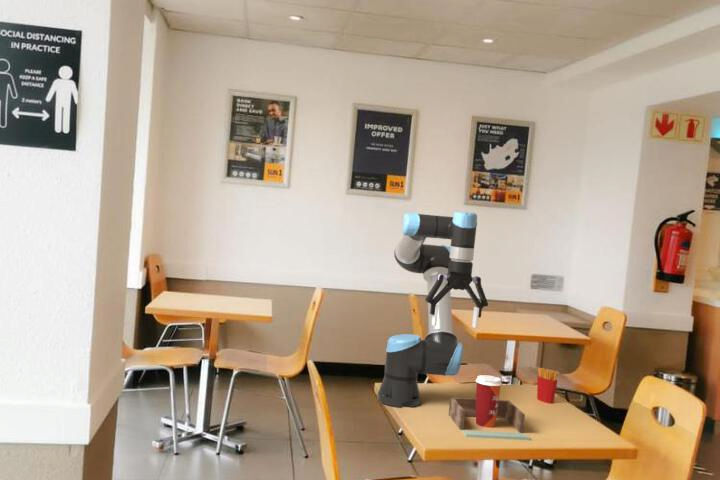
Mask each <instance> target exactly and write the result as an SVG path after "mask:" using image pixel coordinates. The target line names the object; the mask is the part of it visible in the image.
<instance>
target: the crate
mask: <svg viewBox="0 0 720 480" xmlns="http://www.w3.org/2000/svg"><path fill="white" fill-rule="evenodd" d="M448 410H449V411H448V416H449V417H450V418H451V420H452V421H453V422H454V425H456V426H457V427H458V429H459V430H460V431H461V430H464V427H465V426H464V425H465V424H464V423H465V418H466V417H467V418H476V398H471V397H470V398H469V397H453V396H450V399H449V409H448ZM496 419H497V420H498V419H500V420H501V419H502V420H506V421H507V422H508V423H509V424H510V425H511V426H512V427H513V428H514V429H515V430H516V431H517V433H523V434H524V427H525V413H524V412H523V411H522V410H520V409H519V408H518V407H517V406H516V405H515V404H513V402H511V401H510V400H506V399H505V400H504V399H503V400H502V399H499V401H498V408H497V415H496Z"/></svg>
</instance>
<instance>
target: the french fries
mask: <svg viewBox="0 0 720 480" xmlns="http://www.w3.org/2000/svg"><path fill="white" fill-rule="evenodd" d="M537 373H538V375H537V380H536V381H537V386H536V387H537V389H536V391H537V392H536V399H537V400H538V401H540V402H543V403H547V404H554V401H555V395H556V390H557V385H558V379H557V375H558V374H557V373H556V371H553V370H550V369H549V368H546V369H545V368H544V367H540V368H539V367H537Z"/></svg>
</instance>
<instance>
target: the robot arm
mask: <svg viewBox="0 0 720 480" xmlns="http://www.w3.org/2000/svg"><path fill="white" fill-rule="evenodd" d="M477 227H478V215H477V214H476V213H475V212H467V211H465V212H464V211H455V212H454V214H453V216H445V215H444V216H443V215H433V214H423V213H416V212H414V213H413V212H412V213H411V212H410V213H405V214H404V215H403V220H402V234H403V237H402V239H401V241H399V242H398V243H397V244H396V245H395V248H394V251H393V252H394V254H393V255H394V259H395V261H396V263H397V264H398V265H399V266H400V267H401V268H402V269H403V270H405V271H408V272H410V273H413V274H414V273H415V274H422V275H423V280H424V281H425V282H427V296H426V297H425V302H427V313H428V333H427V334H426V335H425V337H424V339H422V337H421V336H420V335H418V334H412V333H411V334H410V333H403V334H395V335H393V336H390V337H389V338H388V340H387V342H386V343H387V345H386V349H385V352H386V353H385V354H386V355H385V364H384V373H383V374H384V376H383V379H382V382H381V384H380V386H379V389H378V390H377V391H378V392H377V396H376V397H377V398H376V399H377V401H378V402H379V403H381V404H384V405H387V406H390V407H396V408H414V407H415V408H416V407H418V406H419V405H420V404H421V392H420V389H419V385H418V384H419V383H418V374H423V375H435V376H436V375H437V376H444V377H447V376H452V377H455V376H456V375H457V374H458V373H459V372H460V369H461V366H462V360H463V355H464V354H463V353H464V346H463V343H462V342H458V336H457V335H456V334H454V333H453V318H452V317H453V316H452V299H451V296H452V294H451V290H452V289H453V290H457V291H458V290H460V291H464V290H465V291H466V292H467V294H468V295H469V297H470V298H471V300H472V301H473V303H474V304H475V306H473V312H472V313H473V314H472V325H471V327H472V328H474V329H478V325H479V324H478V323H479V318H482V312H483V310H482V309H484V307H488V306H489V303H488V300H487V296H486V295H485V292H484V288H483V286H482V278H481V277H480V276H477V275H476V276H472V274H473V266H474V265H473V262H472V261H474V255H475V245H476V244H475V243H476V235H477ZM427 238H429V239H430V238H431V239H443V240H450V246H448V245H447V246H446V245H443V244H442V245H437V244H436V245H435V244H426V243H425V241H426V239H427ZM472 282H473V284H474V286H475V288H476V291H477V292H476V293H477V294H478V295H476V293H475V292H474V290H473V288H472V286H471V285H470V284H471V283H472ZM477 296H478V297H477ZM479 299H480V300H479Z"/></svg>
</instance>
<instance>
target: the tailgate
mask: <svg viewBox="0 0 720 480" xmlns="http://www.w3.org/2000/svg"><path fill="white" fill-rule="evenodd" d="M460 431H461V432H462V434H463V435H464V436H465V438H480V439H495V440H496V439H497V440H499V439H501V440H520V441H531V437H530V436H528V435H526V434H525V433H524V432H523V433H519V432H508V431H507V432H506V431H504V432H503V431H491V430H490V431H488V430H487V431H486V430H468V429H467V430H466V429H463V430H460Z"/></svg>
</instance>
